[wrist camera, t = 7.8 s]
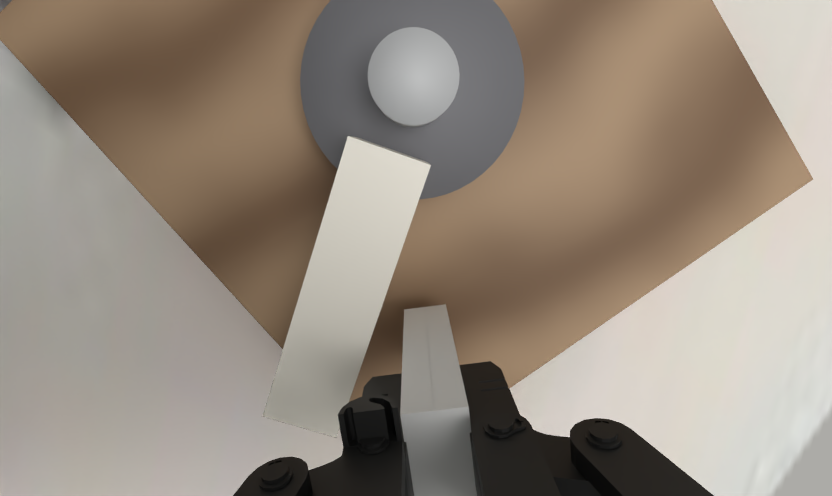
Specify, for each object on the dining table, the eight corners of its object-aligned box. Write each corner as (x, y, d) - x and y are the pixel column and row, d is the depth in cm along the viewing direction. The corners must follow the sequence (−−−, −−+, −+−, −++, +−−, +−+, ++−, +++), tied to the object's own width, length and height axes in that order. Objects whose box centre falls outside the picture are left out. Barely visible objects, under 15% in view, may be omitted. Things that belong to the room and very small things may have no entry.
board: (34, 38, 17) (-17, 24, 15) (456, -363, 15) (464, -445, 13) (393, 439, 21) (392, 470, 19) (771, 175, 19) (815, 179, 17)
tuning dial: (404, -270, 13) (403, -429, 10) (621, -176, 14) (698, -291, 10) (233, 344, 18) (186, 398, 14) (405, 397, 18) (404, 462, 14)
